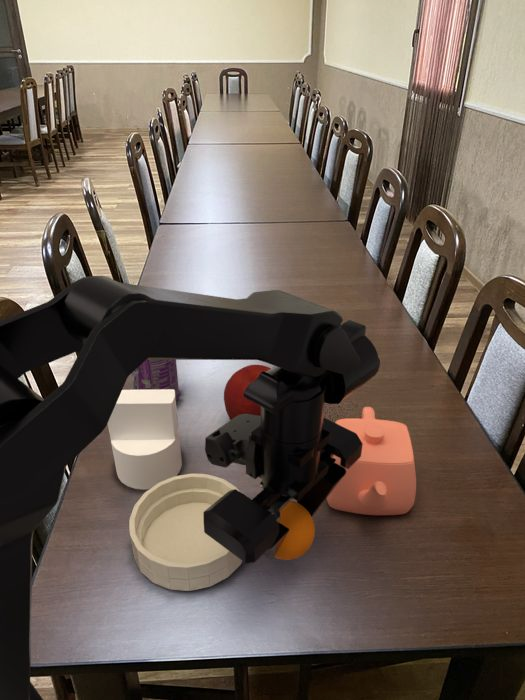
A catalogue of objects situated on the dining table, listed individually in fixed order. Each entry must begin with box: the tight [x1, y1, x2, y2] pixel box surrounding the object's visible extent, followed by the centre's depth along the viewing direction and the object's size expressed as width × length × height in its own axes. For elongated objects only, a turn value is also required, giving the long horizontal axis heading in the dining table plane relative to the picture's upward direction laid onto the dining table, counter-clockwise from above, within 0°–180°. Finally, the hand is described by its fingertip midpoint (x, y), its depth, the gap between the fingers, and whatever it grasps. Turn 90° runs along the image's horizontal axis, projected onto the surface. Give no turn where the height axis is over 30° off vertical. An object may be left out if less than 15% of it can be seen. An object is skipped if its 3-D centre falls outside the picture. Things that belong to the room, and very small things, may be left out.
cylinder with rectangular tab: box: [107, 389, 183, 490], centre depth 72 cm, size 9×9×12 cm
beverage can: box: [131, 360, 180, 401], centre depth 85 cm, size 7×7×12 cm
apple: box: [223, 364, 272, 421], centre depth 80 cm, size 10×10×10 cm
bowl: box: [128, 472, 243, 592], centre depth 63 cm, size 14×14×4 cm
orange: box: [273, 500, 316, 561], centre depth 57 cm, size 6×6×6 cm
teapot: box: [326, 406, 417, 516], centre depth 68 cm, size 12×18×10 cm, turn 175°
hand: (286, 537), depth 58 cm, fingers closed on orange, 6 cm apart
